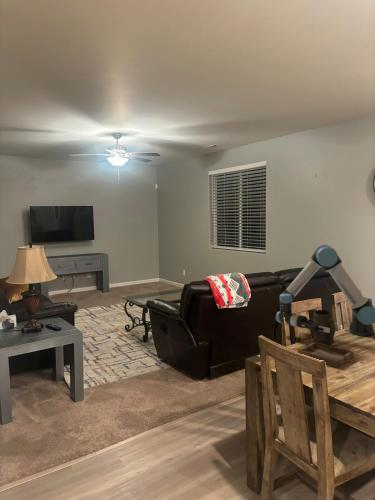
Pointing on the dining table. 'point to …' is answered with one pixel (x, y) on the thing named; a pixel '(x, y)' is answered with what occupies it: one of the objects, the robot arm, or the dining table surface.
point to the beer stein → (324, 320)
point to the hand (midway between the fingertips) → (333, 328)
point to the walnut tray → (327, 354)
